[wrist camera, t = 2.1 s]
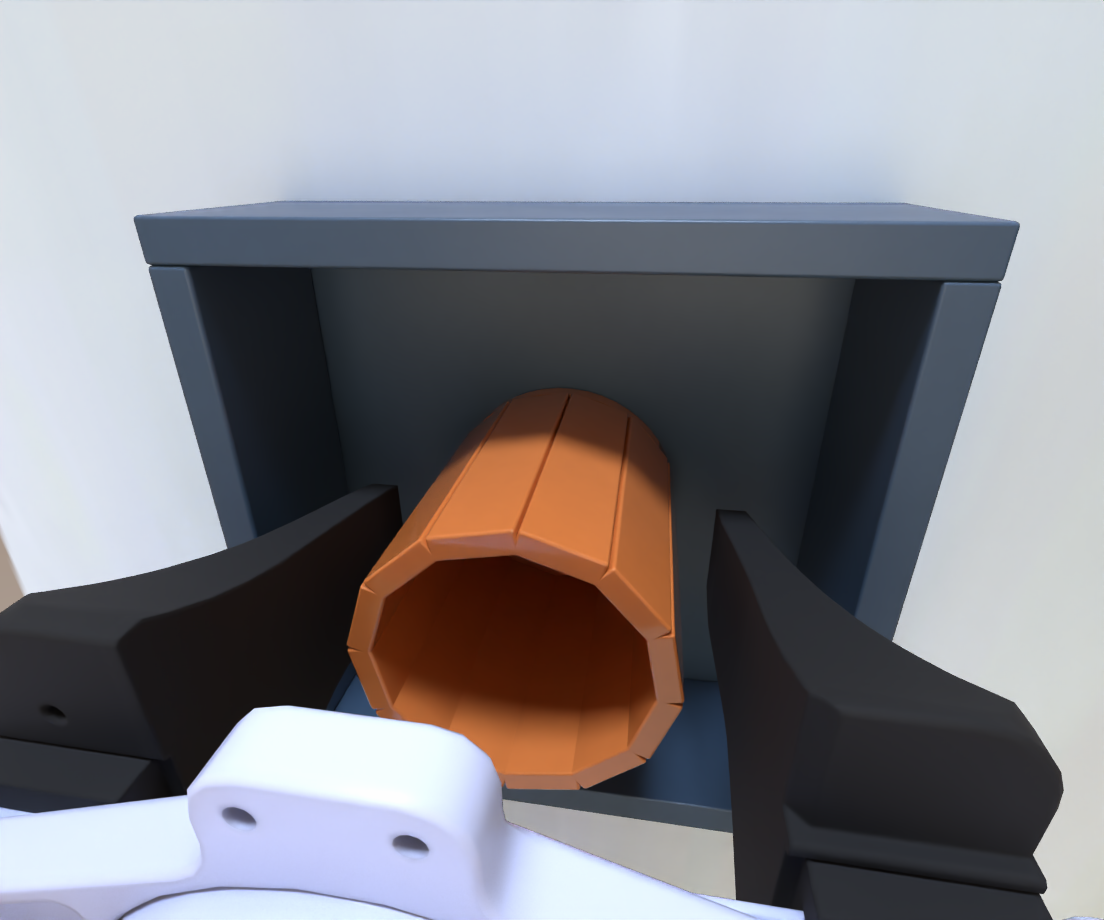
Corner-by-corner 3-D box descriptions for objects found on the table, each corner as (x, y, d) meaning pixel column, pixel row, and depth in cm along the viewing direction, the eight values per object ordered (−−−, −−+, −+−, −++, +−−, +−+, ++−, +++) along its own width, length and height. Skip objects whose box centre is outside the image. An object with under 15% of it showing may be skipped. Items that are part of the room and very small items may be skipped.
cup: (555, 607, 18) (502, 826, 12) (420, 469, 16) (287, 638, 10) (718, 509, 15) (752, 717, 10) (577, 341, 14) (519, 465, 8)
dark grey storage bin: (792, 697, 18) (829, 848, 14) (361, 648, 20) (287, 768, 16) (905, 202, 12) (1023, 221, 8) (279, 201, 14) (130, 215, 10)
